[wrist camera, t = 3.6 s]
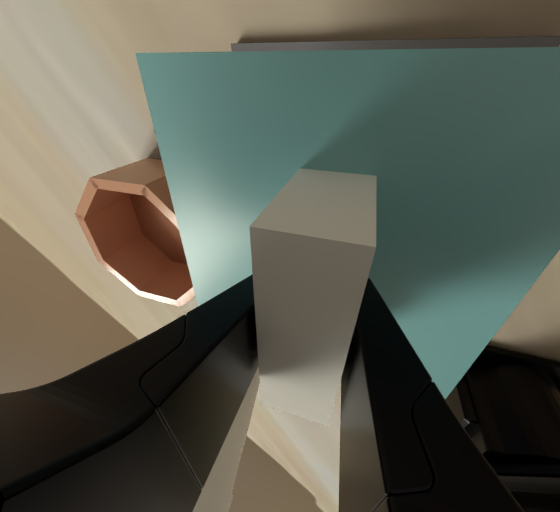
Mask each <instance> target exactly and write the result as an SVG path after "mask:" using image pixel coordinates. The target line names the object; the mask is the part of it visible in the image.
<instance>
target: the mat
mask: <svg viewBox="0 0 560 512" xmlns="http://www.w3.org/2000/svg"><path fill="white" fill-rule="evenodd" d="M559 44H560V36H542V37H498V38H454V39H409V40H365V41H321V42H277V43H233V44H231V48H232V52H251V51H318V50H386V49H454V48H522V47H558V46H559Z"/></svg>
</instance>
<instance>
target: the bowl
mask: <svg viewBox="0 0 560 512" xmlns="http://www.w3.org/2000/svg"><path fill="white" fill-rule="evenodd" d="M75 216H76V218H77V220H78V222H79V224H80V226H81V228H82V230H83V232H84V234H85V236H86V238H87V240H88V242H89V244H90V246H91V248H92V250H93V252H94V254H95V256H96V258H97V260H98V262H99V263H101V264H102V265H103V266H104V267H105V268H107V269H108V270H109V271H110V272H111V273H112V274H114V275H115V276H116V277H117V278H118V279H120V280H121V281H122V282H123V283H124V284H126V285H127V286H128V287H129V288H130V289H131V290H133V291H134V292H135V293H136V294H137V295H139V296H142V297H146V298H149V299H153V300H157V301H161V302H164V303H168V304H172V305H176V306H180V307H182V306H183V305H184V304H186V303H187V302H188V301H190V300H191V299H193V298H194V297H195V293H194V288H193V284H192V280H191V276H190V272H189V268H188V264H187V260H186V256H185V252H184V248H183V244H182V240H181V236H180V232H179V228H178V224H177V219H176V215H175V211H174V207H173V203H172V199H171V195H170V191H169V187H168V183H167V179H166V175H165V171H164V167H163V163H162V160H159V159H150V158H146V159H143V160H140V161H137V162H134V163H131V164H129V165H126V166H123V167H120V168H117V169H114V170H111V171H108V172H105V173H102V174H99V175H96V176H93V177H90V178H89V181H88V183H87V185H86V188H85V190H84V193H83V195H82V198H81V200H80V203H79V205H78V208H77V210H76V213H75Z"/></svg>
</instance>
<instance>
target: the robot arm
mask: <svg viewBox="0 0 560 512" xmlns="http://www.w3.org/2000/svg"><path fill="white" fill-rule="evenodd" d="M258 366H259V363H258V348H257V333H256V318H255V303H254V288H253V274H252V275H250V276H248V277H247V278H245V279H243V280H242V281H240V282H238V283H237V284H235V285H233V286H232V287H230V288H228V289H227V290H225V291H223V292H222V293H220V294H218V295H216V296H215V297H213V298H211V299H210V300H208V301H206V302H205V303H203V304H201V305H200V306H198V307H196V308H195V309H193V310H191V311H190V312H188V313H187V314H186V315H183V316H181V317H179V318H178V319H176V320H174V321H173V322H171V323H169V324H167V325H166V326H164V327H162V328H160V329H159V330H157V331H155V332H153V333H151V334H149V335H148V336H146V337H144V338H142V339H140V340H138V341H136V342H134V343H132V344H130V345H128V346H126V347H124V348H122V349H120V350H118V351H116V352H114V353H112V354H110V355H108V356H106V357H104V358H102V359H100V360H98V361H96V362H94V363H92V364H90V365H88V366H86V367H84V368H82V369H80V370H78V371H76V372H74V373H72V374H69V375H67V376H65V377H63V378H61V379H58V380H56V381H53V382H50V383H48V384H45V385H41V386H38V387H35V388H31V389H27V390H22V391H17V392H11V393H4V394H0V512H193V509H194V507H195V505H196V503H197V501H198V498H199V496H200V494H201V492H202V488H203V487H204V485H205V483H206V481H207V478H208V476H209V474H210V472H211V470H212V467H213V465H214V463H215V461H216V459H217V456H218V454H219V452H220V450H221V448H222V445H223V443H224V441H225V439H226V437H227V434H228V432H229V430H230V428H231V426H232V423H233V421H234V419H235V417H236V415H237V412H238V410H239V408H240V406H241V404H242V401H243V399H244V397H245V395H246V393H247V390H248V388H249V386H250V384H251V382H252V379H253V377H254V375H255V373H256V371H257V368H258ZM431 381H432V378H431V376H430V374H429V373H428V371H427V370H426V368H425V366H424V365H423V363H422V361H421V360H420V358H419V357H418V355H417V353H416V352H415V350H414V348H413V347H412V345H411V344H410V342H409V340H408V339H407V337H406V336H405V334H404V332H403V331H402V329H401V327H400V326H399V324H398V323H397V321H396V319H395V318H394V316H393V314H392V313H391V311H390V310H389V308H388V306H387V305H386V303H385V301H384V300H383V298H382V297H381V295H380V293H379V292H378V290H377V289H376V287H375V285H374V284H373V282H372V280H371V279H370V278H368V280H367V283H366V287H365V291H364V295H363V298H362V302H361V306H360V309H359V313H358V317H357V321H356V324H355V328H354V332H353V336H352V339H351V343H350V347H349V351H348V354H347V358H346V362H345V366H344V369H343V373H342V378H341V426H340V474H339V512H560V362H556V361H551V360H547V359H543V358H538V357H534V356H530V355H525V354H521V353H517V352H512V351H508V350H504V349H499V348H495V347H490V346H486V347H485V348H484V349H483V351H482V352H481V353H480V355H479V356H478V357H477V359H476V360H475V361H474V363H473V364H472V365H471V366H470V368H469V369H468V370H467V372H466V373H465V374H464V376H463V377H462V378H461V380H460V381H459V382H458V384H457V385H456V386H455V387H454V389H453V390H452V391H451V393H450V394H449V395H448V397H447V398H446V399H445V398H444V397H443V395H442V394H441V392H440V390H439V389H438V387H437V386H436V384H435V383H434V382H431Z"/></svg>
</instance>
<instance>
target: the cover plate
mask: <svg viewBox="0 0 560 512" xmlns="http://www.w3.org/2000/svg"><path fill="white" fill-rule="evenodd" d="M136 57H137V61H138V65H139V69H140V73H141V77H142V81H143V86H144V90H145V94H146V98H147V102H148V106H149V110H150V114H151V118H152V122H153V126H154V130H155V134H156V138H157V142H158V146H159V150H160V155H161V159H162V163H163V167H164V171H165V175H166V179H167V183H168V187H169V191H170V195H171V199H172V203H173V207H174V211H175V215H176V219H177V224H178V228H179V232H180V236H181V240H182V244H183V248H184V252H185V256H186V260H187V264H188V268H189V272H190V276H191V280H192V284H193V288H194V293H195V297H196V301H197V305H198V306H200V305H201V304H203V303H205V302H206V301H208V300H210V299H211V298H213V297H215V296H216V295H218V294H220V293H222V292H223V291H225V290H227V289H228V288H230V287H232V286H233V285H235V284H237V283H238V282H240V281H242V280H243V279H245V278H247V277H248V276H250V275H252V274H253V288H254V303H255V318H256V333H257V348H258V363H259V378H260V393H261V404H262V405H265V406H268V407H271V408H274V409H277V410H280V411H283V412H286V413H288V414H291V415H294V416H297V417H300V418H303V419H306V420H309V421H312V422H315V423H318V424H321V425H324V426H327V427H328V425H329V422H330V418H331V414H332V410H333V407H334V403H335V399H336V395H337V392H338V388H339V384H340V380H341V377H342V373H343V369H344V366H345V362H346V358H347V354H348V351H349V347H350V343H351V339H352V336H353V332H354V328H355V324H356V321H357V317H358V313H359V309H360V306H361V302H362V298H363V295H364V291H365V287H366V283H367V280H368V278H370V279H371V280H372V282H373V284H374V285H375V287H376V289H377V290H378V292H379V293H380V295H381V297H382V298H383V300H384V301H385V303H386V305H387V306H388V308H389V310H390V311H391V313H392V314H393V316H394V318H395V319H396V321H397V323H398V324H399V326H400V327H401V329H402V331H403V332H404V334H405V336H406V337H407V339H408V340H409V342H410V344H411V345H412V347H413V348H414V350H415V352H416V353H417V355H418V357H419V358H420V360H421V361H422V363H423V365H424V366H425V368H426V370H427V371H428V373H429V374H430V376H431V378H432V381H431V382H434V383H435V384H436V386H437V387H438V389H439V390H440V392H441V394H442V395H443V397H444V398H445V399H446V398H447V397H448V395H449V394H450V393H451V391H452V390H453V389H454V387H455V386H456V385H457V384H458V382H459V381H460V380H461V378H462V377H463V376H464V374H465V373H466V372H467V370H468V369H469V368H470V366H471V365H472V364H473V363H474V361H475V360H476V359H477V357H478V356H479V355H480V353H481V352H482V351H483V349H484V348H485V347H486V345H487V344H488V343H489V342H490V340H491V339H492V338H493V336H494V335H495V334H496V332H497V331H498V330H499V328H500V327H501V326H502V324H503V323H504V322H505V321H506V319H507V318H508V317H509V315H510V314H511V313H512V311H513V310H514V309H515V307H516V306H517V305H518V303H519V302H520V301H521V299H522V298H523V297H524V296H525V294H526V293H527V292H528V290H529V289H530V288H531V286H532V285H533V284H534V282H535V281H536V280H537V278H538V277H539V276H540V275H541V273H542V272H543V271H544V269H545V268H546V267H547V265H548V264H549V263H550V261H551V260H552V259H553V257H554V256H555V255H556V254H557V252H558V251H559V250H560V47H522V48H454V49H386V50H318V51H251V52H183V53H136Z"/></svg>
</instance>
